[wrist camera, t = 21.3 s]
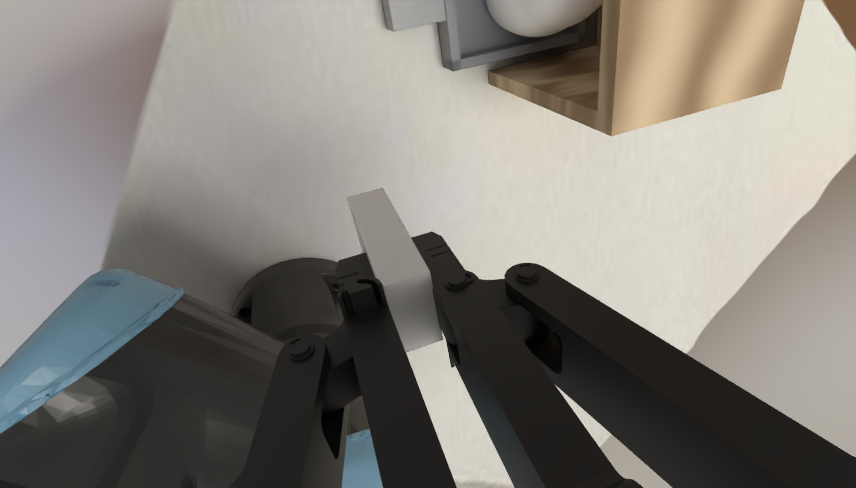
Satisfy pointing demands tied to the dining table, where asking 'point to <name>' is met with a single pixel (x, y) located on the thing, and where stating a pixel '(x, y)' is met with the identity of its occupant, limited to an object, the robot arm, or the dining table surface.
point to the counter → (662, 61)
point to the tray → (472, 31)
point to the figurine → (540, 15)
